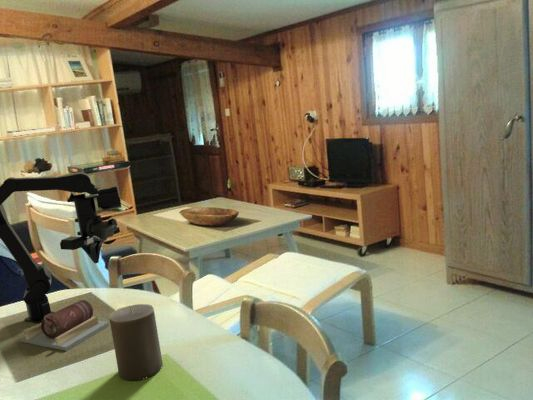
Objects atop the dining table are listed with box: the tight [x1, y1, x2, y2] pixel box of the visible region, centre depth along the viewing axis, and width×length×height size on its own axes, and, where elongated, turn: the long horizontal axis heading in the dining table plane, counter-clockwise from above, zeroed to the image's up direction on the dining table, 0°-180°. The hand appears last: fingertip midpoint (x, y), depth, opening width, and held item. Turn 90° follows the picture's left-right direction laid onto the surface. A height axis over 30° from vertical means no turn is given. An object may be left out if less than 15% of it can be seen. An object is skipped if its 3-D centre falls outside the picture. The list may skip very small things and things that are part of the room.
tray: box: [20, 316, 110, 352], centre depth 136 cm, size 18×14×3 cm
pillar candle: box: [109, 303, 164, 381], centre depth 111 cm, size 10×10×15 cm
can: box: [40, 299, 94, 338], centre depth 137 cm, size 6×6×14 cm
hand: (96, 263), depth 153 cm, fingers closed
